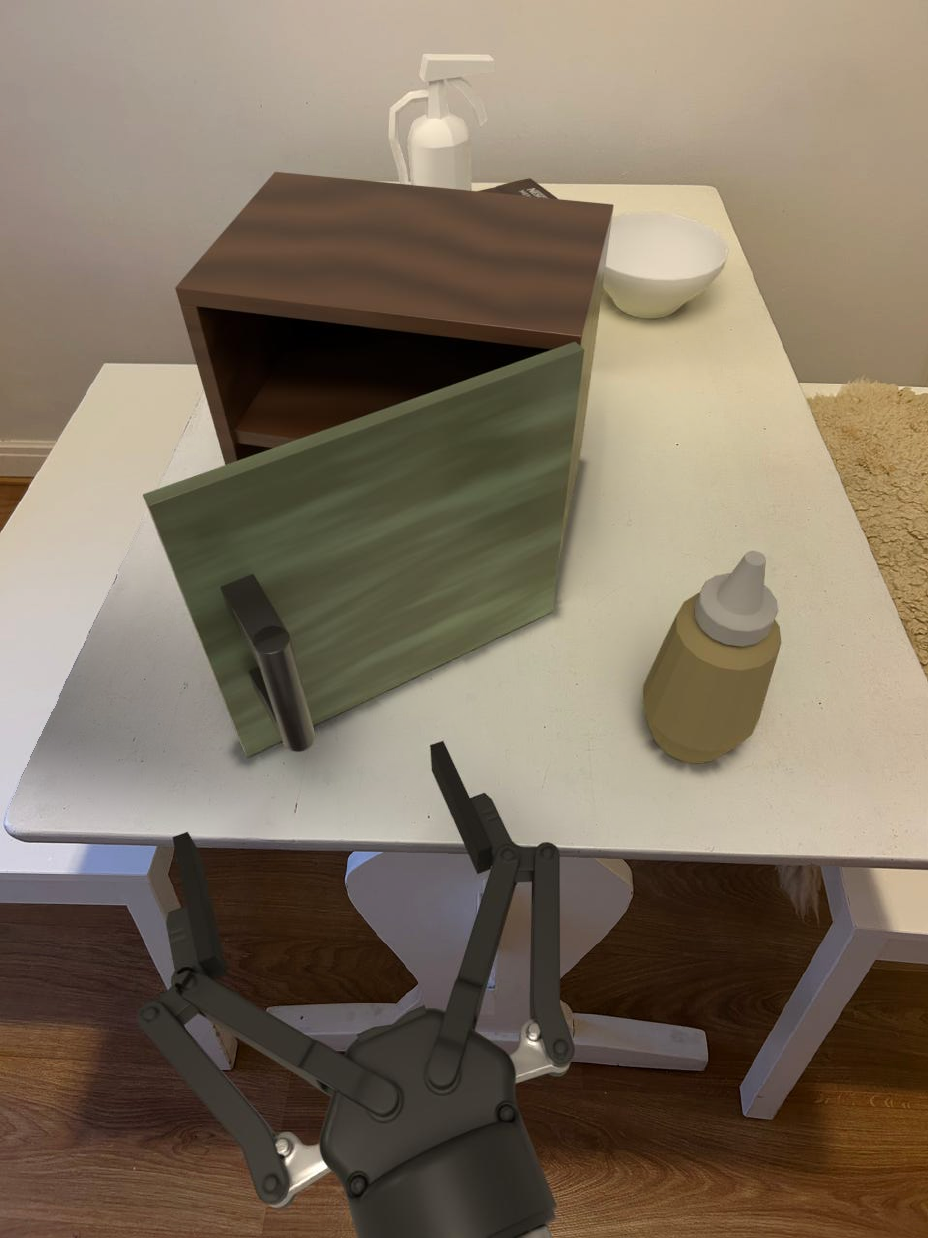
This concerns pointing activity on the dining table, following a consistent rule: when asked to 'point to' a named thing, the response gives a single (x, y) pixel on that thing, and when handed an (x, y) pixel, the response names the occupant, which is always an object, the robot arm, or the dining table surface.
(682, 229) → the bowl
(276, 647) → the cupboard door
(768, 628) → the squeeze bottle
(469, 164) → the fire extinguisher
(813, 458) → the dining table surface
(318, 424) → the cupboard
